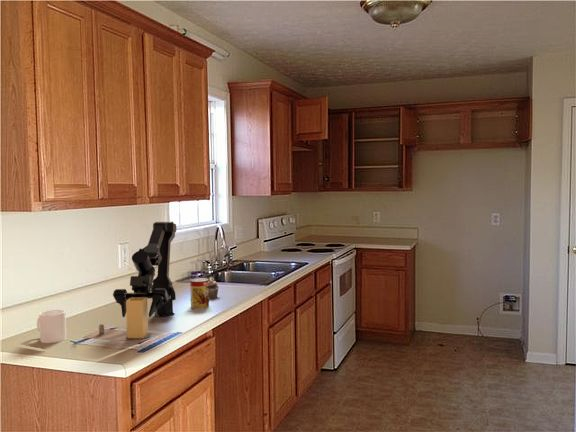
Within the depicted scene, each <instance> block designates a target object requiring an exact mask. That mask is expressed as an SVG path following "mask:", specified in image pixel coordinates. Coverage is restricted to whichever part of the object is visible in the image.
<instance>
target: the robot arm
mask: <svg viewBox="0 0 576 432" xmlns="http://www.w3.org/2000/svg"><path fill="white" fill-rule="evenodd" d="M176 233H177V224H176V223H175V222H174V221H154V222H153V223H152V232H151V235H150V237H149V240H148V243H147V245H146V246H145V247H143V248H139V249H138V250H137V251H136V252H134V253H133V254H132V256H131V261H132V263H133V265H134V268H135V270H136V271H137V272H138V274H137V275H135V276H134V275H133V276H130V281H129V286H130V287H131V290H132V291H133V292H128V291H127V289H126V288H117V289H114V290H113V293H112V296H113V298H114V300H115V302H116V303H117V304H119V305H120V306H121V307H120V308H121V317H122V318H125V317H126V316H127V314H126V301H127V300H128V299H130V298H131V297H147V300H149V299H151V300H152V301H151V304H150V308H149V311H148V318H151V317H152V316H153V315H155V316H157V317H160V318H162V317H167V316H173V315H175V314H176V313H175V312H174V307H173V305H174V304H173V301H175V300H177V299H176V292H175V288H174V286H173V282H172V280H171V278H170V276H169V275H170V263H171V262H170V259H171V258H170V257H171V243H172V241H173V240H174V239H175V236H176ZM156 266H157V275H156V268H155V267H156ZM155 276H156V277H155Z"/></svg>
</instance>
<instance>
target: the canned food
mask: <svg viewBox="0 0 576 432" xmlns="http://www.w3.org/2000/svg"><path fill="white" fill-rule="evenodd" d="M206 278H207V277H206ZM206 278H203V277H196V278H191V279H190V280H189V286H190V291H189V292H190V308H191V309H197V310H198V309H206V308H209V306H210V299H209V291H208V279H206Z"/></svg>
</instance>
